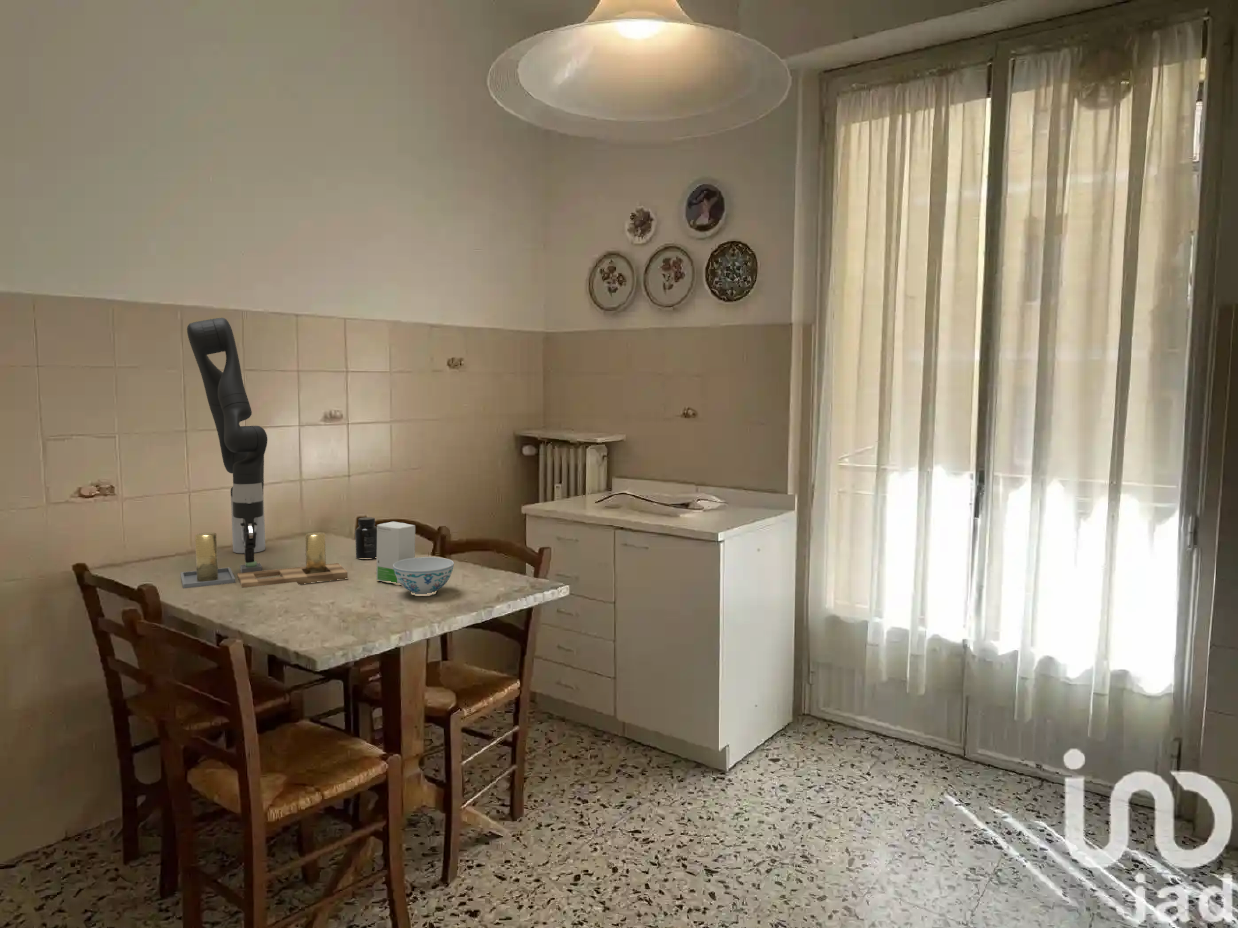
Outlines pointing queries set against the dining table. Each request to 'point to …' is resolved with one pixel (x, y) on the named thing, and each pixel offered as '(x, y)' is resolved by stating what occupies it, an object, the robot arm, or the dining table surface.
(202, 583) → the grey tray
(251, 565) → the button
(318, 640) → the dining table surface
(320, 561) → the seated billet
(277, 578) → the pallet
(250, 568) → the button housing
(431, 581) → the chinaware
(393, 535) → the skincare box
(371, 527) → the supplement bottle
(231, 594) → the dining table surface
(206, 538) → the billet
